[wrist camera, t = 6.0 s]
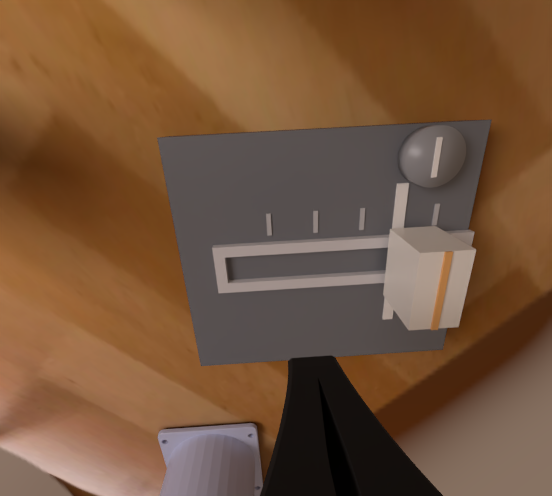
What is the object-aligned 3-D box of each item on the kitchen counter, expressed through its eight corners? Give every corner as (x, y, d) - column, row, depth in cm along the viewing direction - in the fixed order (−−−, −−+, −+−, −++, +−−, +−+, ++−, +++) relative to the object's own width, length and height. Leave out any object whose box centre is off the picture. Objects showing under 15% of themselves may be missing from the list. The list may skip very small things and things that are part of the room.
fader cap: (420, 288, 17) (459, 328, 14) (380, 291, 17) (409, 331, 14) (431, 223, 16) (477, 250, 12) (387, 226, 16) (421, 253, 12)
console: (428, 330, 21) (453, 361, 19) (206, 345, 21) (197, 379, 18) (466, 120, 16) (510, 119, 13) (169, 136, 16) (149, 138, 13)
